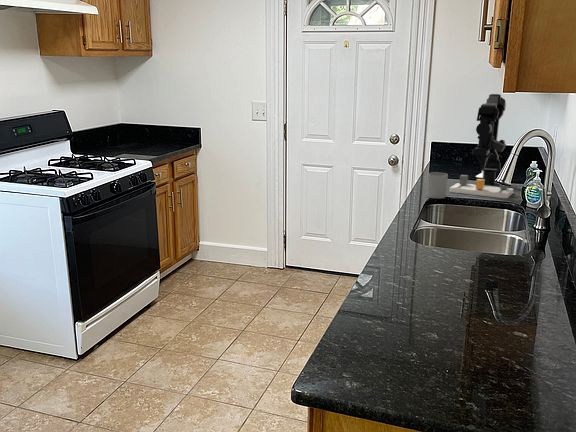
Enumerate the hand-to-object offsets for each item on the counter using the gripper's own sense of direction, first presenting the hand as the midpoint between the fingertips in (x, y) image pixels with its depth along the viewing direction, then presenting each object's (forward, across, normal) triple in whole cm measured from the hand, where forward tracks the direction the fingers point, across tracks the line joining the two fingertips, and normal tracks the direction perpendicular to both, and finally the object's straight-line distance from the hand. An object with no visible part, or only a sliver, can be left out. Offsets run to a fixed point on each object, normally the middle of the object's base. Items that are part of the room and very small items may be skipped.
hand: (482, 168), depth 248 cm
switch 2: (+9, +4, -9) cm, 13 cm away
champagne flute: (+11, +40, +10) cm, 43 cm away
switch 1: (+9, +4, +9) cm, 13 cm away
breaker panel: (+11, +1, 0) cm, 11 cm away
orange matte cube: (+9, -2, 0) cm, 9 cm away
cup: (+11, -18, +14) cm, 26 cm away
